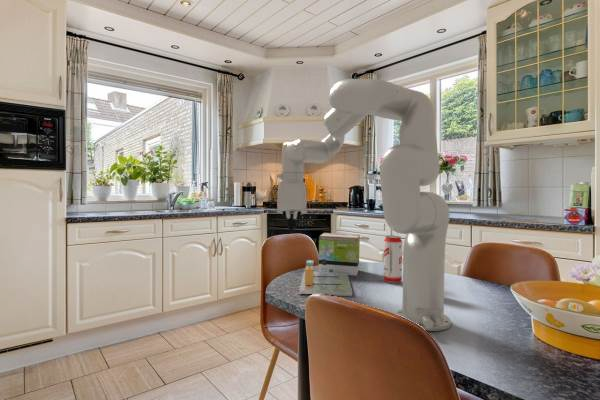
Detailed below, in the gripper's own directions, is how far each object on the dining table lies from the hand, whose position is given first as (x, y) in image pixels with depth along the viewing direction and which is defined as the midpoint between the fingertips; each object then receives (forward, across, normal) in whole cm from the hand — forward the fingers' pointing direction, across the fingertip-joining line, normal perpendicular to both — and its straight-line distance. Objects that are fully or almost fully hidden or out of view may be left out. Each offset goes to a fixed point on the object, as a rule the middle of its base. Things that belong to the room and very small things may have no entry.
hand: (291, 229), depth 122 cm
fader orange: (+16, +7, -10) cm, 20 cm away
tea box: (+18, +18, +14) cm, 29 cm away
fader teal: (+16, +7, 0) cm, 17 cm away
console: (+18, +12, -5) cm, 22 cm away
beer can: (+18, +36, +1) cm, 40 cm away
